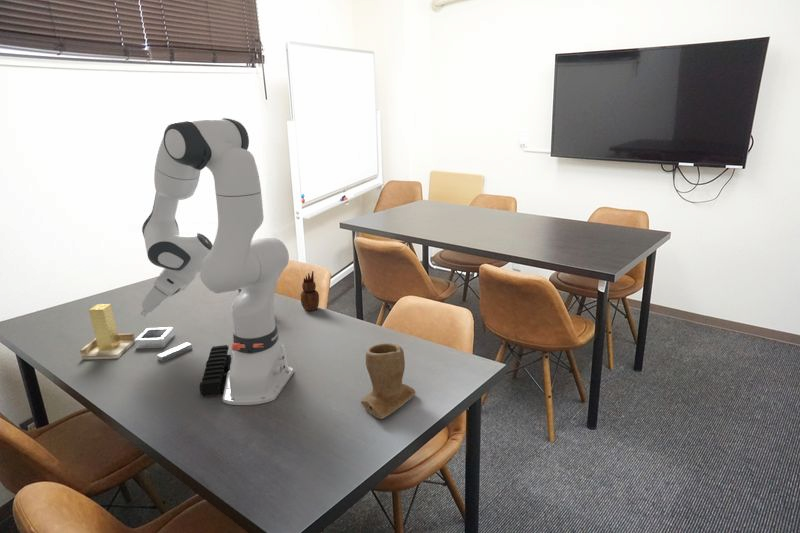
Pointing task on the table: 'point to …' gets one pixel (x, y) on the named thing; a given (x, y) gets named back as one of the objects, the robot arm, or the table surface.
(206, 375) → the rail mount
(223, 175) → the robot arm
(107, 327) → the yellow wooden block
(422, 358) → the table surface
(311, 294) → the wooden figurine
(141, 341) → the socket collar
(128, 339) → the rack plate
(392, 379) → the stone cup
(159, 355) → the gray rectangular bar
